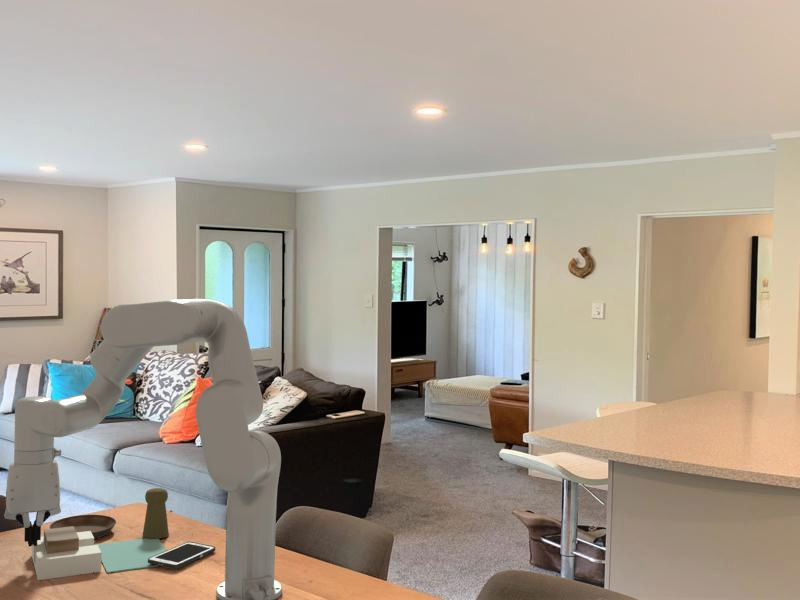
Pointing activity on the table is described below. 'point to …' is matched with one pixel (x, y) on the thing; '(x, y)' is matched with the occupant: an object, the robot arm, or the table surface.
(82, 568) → the slotted block
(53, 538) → the brown flat block
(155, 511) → the pepper mill
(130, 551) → the mat
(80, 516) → the saucer
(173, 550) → the cell phone
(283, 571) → the table surface
